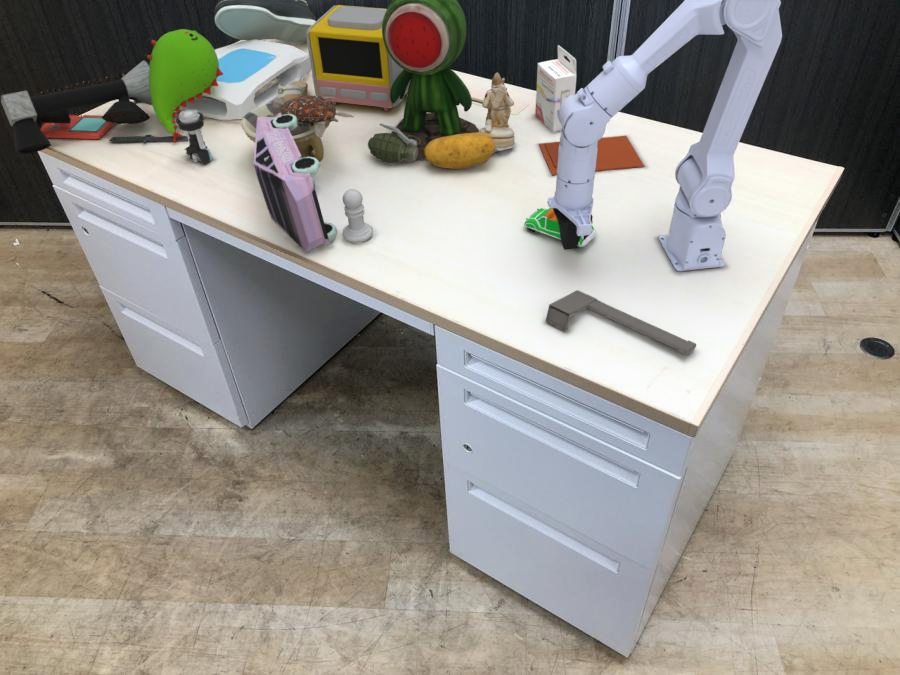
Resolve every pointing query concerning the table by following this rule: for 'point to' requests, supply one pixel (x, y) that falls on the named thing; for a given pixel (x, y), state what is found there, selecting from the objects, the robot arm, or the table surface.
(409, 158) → the grenade
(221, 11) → the boat shoe
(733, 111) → the robot arm
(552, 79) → the ink cartridge box
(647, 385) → the table surface
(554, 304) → the toilet paper hanger
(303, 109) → the toy
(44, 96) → the telephone
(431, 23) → the figurine
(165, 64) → the toy
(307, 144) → the bowl
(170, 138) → the knife
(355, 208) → the chess piece
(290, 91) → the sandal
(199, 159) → the push button
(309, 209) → the toy car
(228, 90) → the document scanner
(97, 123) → the handheld gaming console
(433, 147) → the potato
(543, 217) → the toy car
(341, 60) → the alarm clock
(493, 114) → the figurine
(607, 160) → the rust cloth
